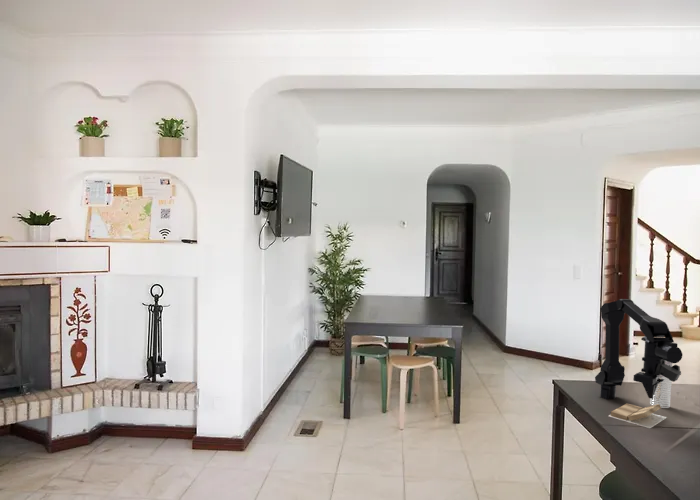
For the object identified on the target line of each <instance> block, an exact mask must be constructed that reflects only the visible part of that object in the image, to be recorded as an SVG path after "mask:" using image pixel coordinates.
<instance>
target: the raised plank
mask: <svg viewBox="0 0 700 500" xmlns="http://www.w3.org/2000/svg"><path fill="white" fill-rule="evenodd" d="M661 409H662V408H661V407H660V405H659V404H657V405H651V406H646V407H642V409H640V410H639V411H637V412H635V413H633V414H632V415H630V416H628V418H629V420H630V421H631V420H636V419H640V418H644V417H647V416H649V415H650V414H652V413H653V414H655V412H657V411H658V410H661Z"/></svg>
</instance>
